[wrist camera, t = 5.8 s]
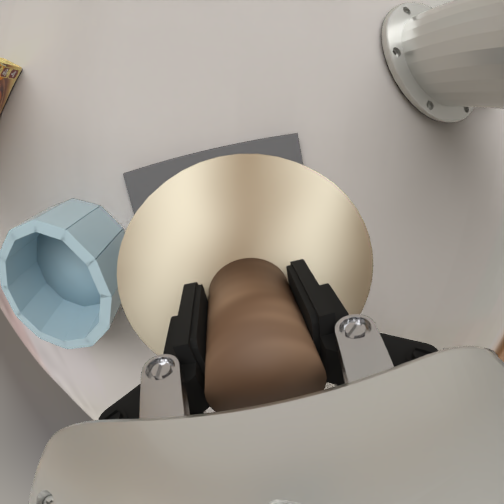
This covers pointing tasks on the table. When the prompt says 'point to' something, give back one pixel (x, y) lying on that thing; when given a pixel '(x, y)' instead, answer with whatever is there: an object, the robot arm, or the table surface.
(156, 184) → the rubber mat
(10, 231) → the ceramic bowl
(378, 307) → the table surface
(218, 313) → the brass cover
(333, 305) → the robot arm
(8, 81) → the candy box
